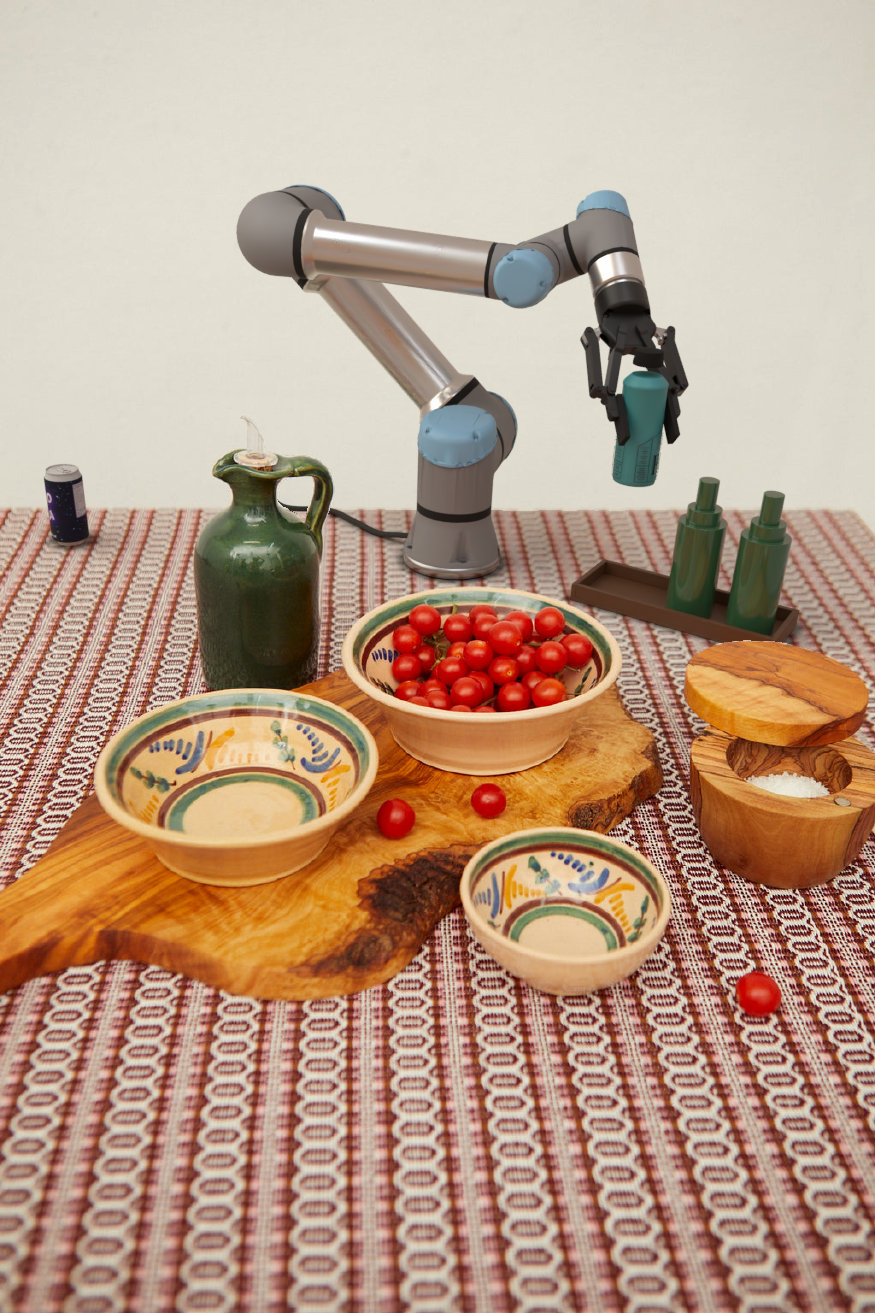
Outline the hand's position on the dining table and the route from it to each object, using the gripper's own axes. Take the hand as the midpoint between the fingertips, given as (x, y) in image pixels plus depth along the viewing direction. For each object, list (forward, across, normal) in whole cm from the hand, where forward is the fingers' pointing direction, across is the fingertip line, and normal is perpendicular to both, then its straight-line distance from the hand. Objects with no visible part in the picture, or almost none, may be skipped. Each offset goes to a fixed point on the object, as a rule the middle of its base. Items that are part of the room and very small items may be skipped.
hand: (649, 440), depth 150 cm
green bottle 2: (+25, -14, -10) cm, 30 cm away
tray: (+20, -7, -15) cm, 26 cm away
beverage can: (-8, +81, -43) cm, 92 cm away
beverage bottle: (+4, 0, -9) cm, 9 cm away
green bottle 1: (+20, -8, -14) cm, 26 cm away
